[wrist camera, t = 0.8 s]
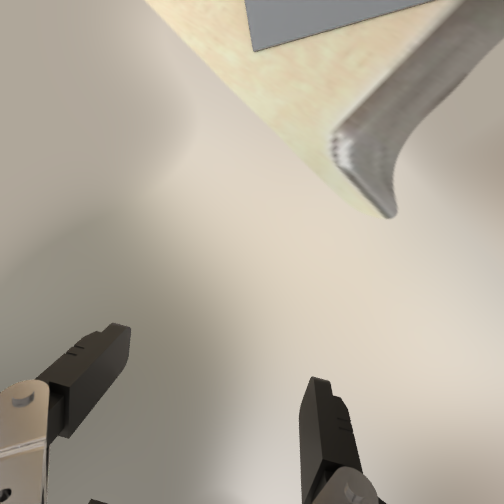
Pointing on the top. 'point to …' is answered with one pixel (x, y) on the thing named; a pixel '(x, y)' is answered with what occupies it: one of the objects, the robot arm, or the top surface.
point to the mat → (311, 17)
